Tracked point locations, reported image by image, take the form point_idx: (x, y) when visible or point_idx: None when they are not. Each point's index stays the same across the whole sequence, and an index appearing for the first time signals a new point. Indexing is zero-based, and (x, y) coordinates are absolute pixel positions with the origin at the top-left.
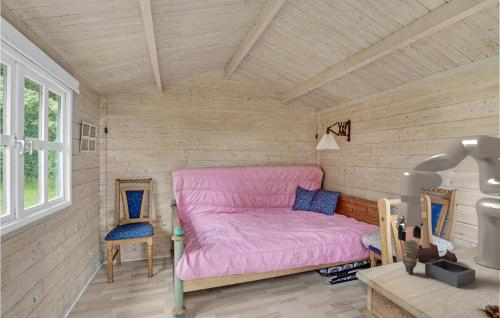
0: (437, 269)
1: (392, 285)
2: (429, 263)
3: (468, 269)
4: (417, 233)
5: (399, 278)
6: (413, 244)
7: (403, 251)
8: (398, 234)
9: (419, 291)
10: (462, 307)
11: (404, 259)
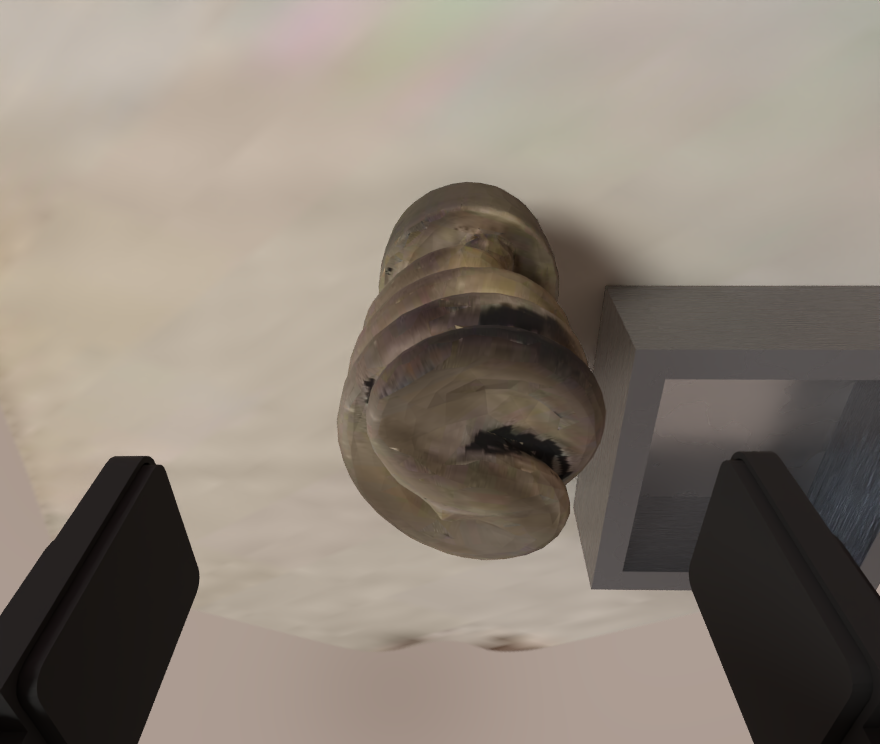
0: (609, 453)
1: (85, 309)
2: (673, 373)
3: (858, 557)
4: (747, 647)
5: (264, 241)
6: (420, 533)
7: (390, 282)
8: (52, 560)
9: (243, 443)
10: (335, 610)
11: (383, 265)
